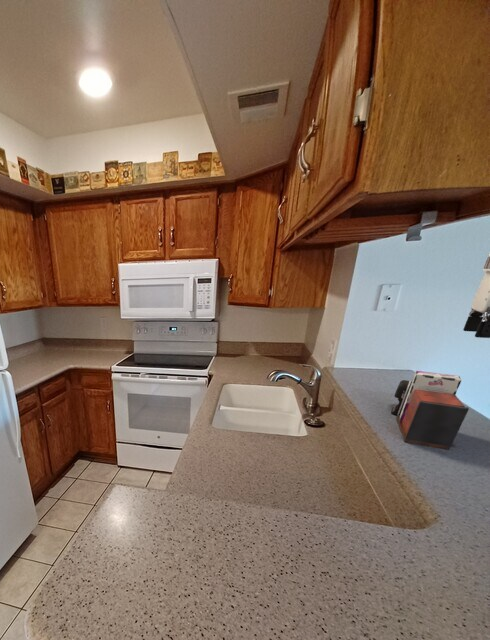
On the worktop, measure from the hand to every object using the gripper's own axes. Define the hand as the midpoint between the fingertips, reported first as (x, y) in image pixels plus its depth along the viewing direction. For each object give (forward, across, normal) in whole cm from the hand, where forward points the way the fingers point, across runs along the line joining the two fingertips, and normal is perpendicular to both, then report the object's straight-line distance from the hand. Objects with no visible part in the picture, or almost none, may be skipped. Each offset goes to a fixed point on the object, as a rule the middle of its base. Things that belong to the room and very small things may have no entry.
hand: (475, 334), depth 90 cm
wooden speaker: (+30, -4, +5) cm, 31 cm away
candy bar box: (+29, +2, +4) cm, 30 cm away
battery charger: (+30, +12, +10) cm, 34 cm away
